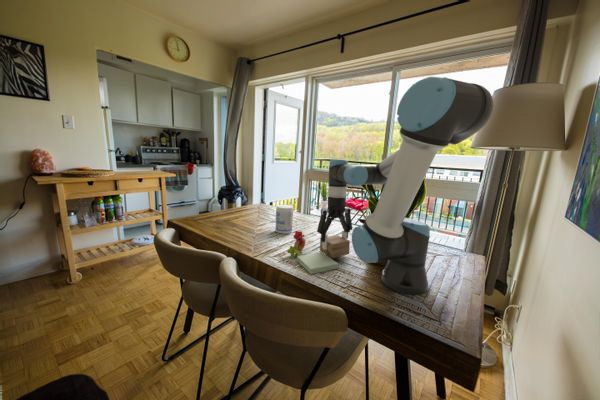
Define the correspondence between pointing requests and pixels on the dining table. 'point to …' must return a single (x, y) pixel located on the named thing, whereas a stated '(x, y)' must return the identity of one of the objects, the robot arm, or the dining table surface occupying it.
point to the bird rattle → (297, 244)
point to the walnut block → (336, 246)
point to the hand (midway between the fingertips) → (334, 247)
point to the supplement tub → (284, 219)
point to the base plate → (317, 262)
